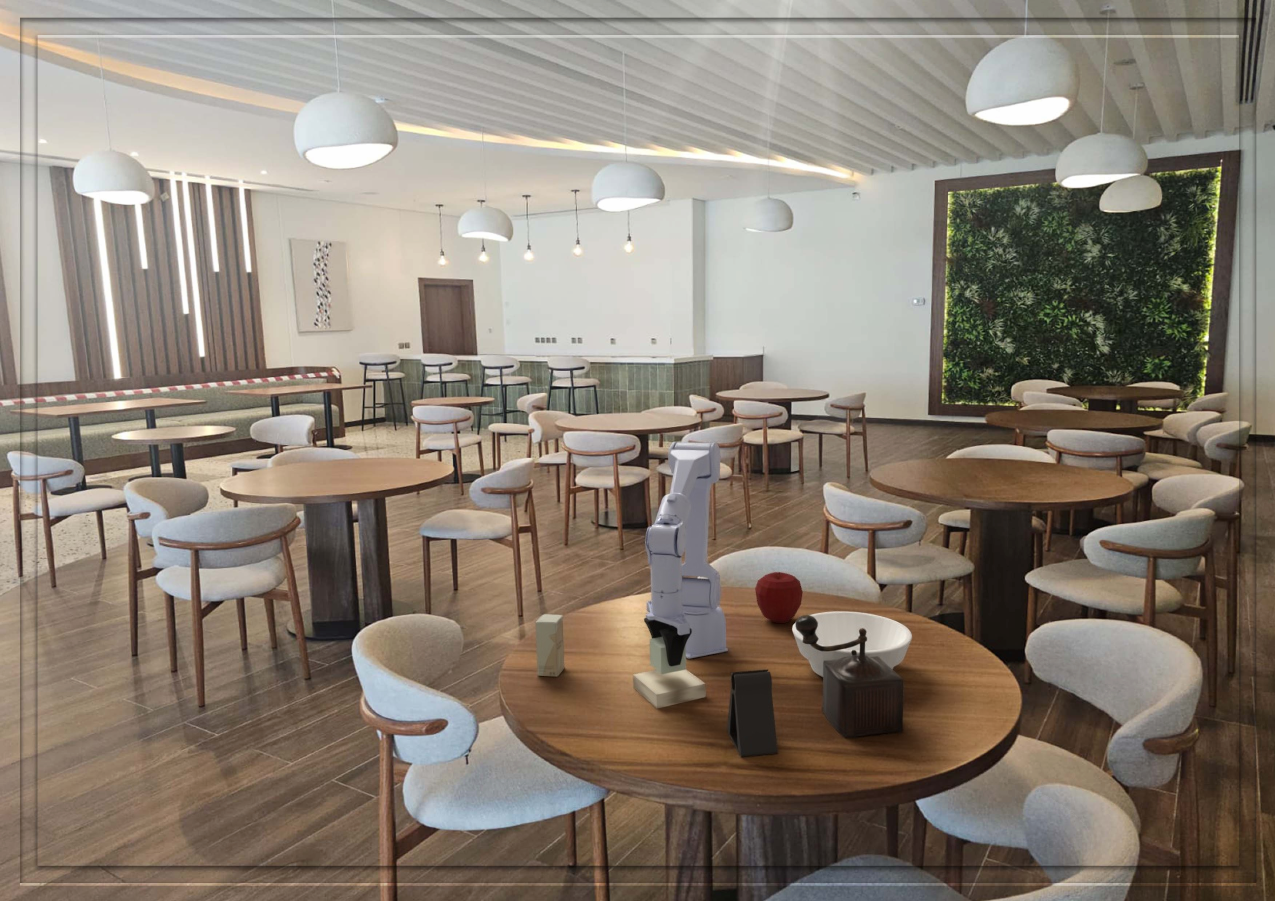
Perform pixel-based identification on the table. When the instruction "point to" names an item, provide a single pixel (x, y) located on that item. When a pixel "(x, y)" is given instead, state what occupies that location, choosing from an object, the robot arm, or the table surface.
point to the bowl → (844, 627)
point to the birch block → (668, 687)
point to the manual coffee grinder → (857, 688)
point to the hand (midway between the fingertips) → (668, 659)
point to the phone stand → (752, 713)
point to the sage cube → (663, 657)
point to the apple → (779, 596)
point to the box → (550, 645)
